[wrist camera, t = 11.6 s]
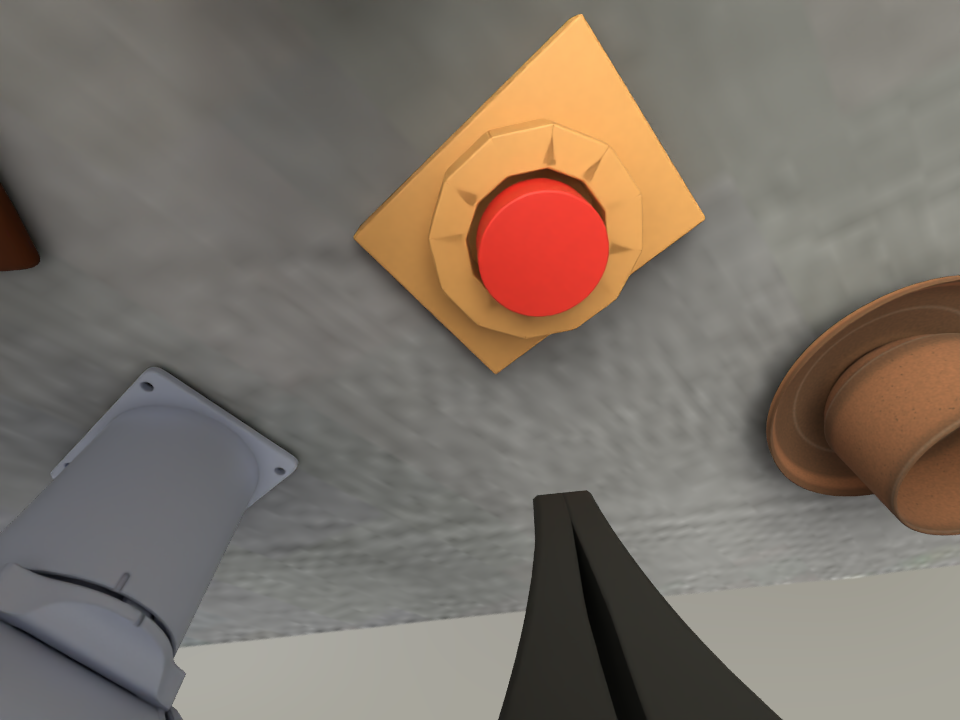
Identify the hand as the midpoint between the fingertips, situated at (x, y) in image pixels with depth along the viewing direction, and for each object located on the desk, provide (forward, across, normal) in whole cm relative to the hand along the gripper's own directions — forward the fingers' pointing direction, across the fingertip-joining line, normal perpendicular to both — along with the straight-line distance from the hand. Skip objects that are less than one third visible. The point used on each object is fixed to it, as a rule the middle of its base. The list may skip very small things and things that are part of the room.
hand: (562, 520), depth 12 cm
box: (+10, -1, -5) cm, 11 cm away
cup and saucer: (+10, -17, +5) cm, 21 cm away
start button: (+8, -1, -5) cm, 9 cm away
